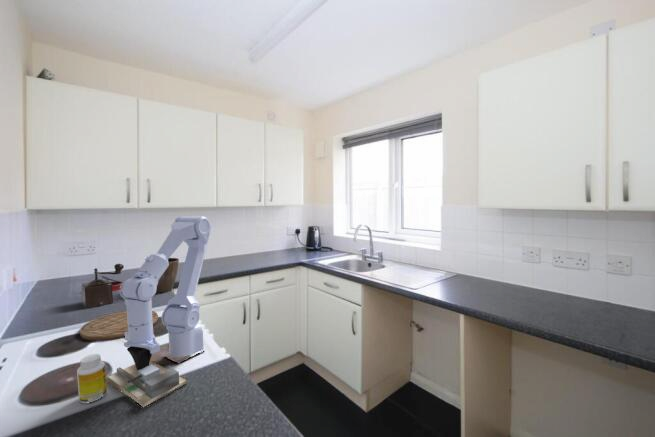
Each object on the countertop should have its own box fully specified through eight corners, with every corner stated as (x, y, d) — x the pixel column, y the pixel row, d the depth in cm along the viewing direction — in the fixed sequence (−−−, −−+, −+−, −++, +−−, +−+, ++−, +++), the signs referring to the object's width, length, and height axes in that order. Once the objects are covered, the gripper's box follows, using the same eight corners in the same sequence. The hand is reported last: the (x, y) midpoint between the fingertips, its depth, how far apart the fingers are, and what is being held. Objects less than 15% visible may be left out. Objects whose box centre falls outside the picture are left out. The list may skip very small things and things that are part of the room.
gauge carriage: (152, 374, 85) (151, 364, 84) (159, 379, 82) (159, 368, 82) (124, 387, 79) (124, 376, 79) (132, 393, 77) (131, 381, 76)
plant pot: (145, 290, 164) (143, 260, 162) (175, 284, 174) (173, 256, 172) (152, 297, 153) (150, 265, 151) (183, 290, 163) (182, 260, 161)
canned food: (103, 297, 167) (102, 279, 170) (125, 292, 171) (124, 275, 174) (97, 293, 157) (96, 274, 161) (120, 288, 162) (118, 270, 165)
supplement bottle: (109, 396, 77) (106, 357, 77) (81, 408, 73) (78, 366, 72) (104, 387, 81) (101, 349, 80) (77, 397, 77) (73, 358, 76)
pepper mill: (86, 309, 137) (83, 269, 135) (82, 303, 144) (79, 265, 143) (126, 300, 148) (124, 263, 146) (121, 295, 155) (118, 260, 154)
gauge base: (148, 362, 93) (147, 348, 93) (186, 384, 82) (185, 368, 82) (106, 380, 84) (105, 365, 84) (143, 408, 73) (142, 390, 73)
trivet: (172, 317, 128) (172, 312, 128) (116, 345, 104) (116, 340, 104) (125, 311, 135) (124, 307, 135) (62, 337, 111) (62, 331, 111)
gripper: (111, 321, 83) (114, 369, 84) (137, 334, 75) (140, 387, 76) (138, 312, 89) (141, 358, 90) (166, 324, 81) (168, 373, 82)
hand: (143, 371), depth 83 cm, fingers closed
